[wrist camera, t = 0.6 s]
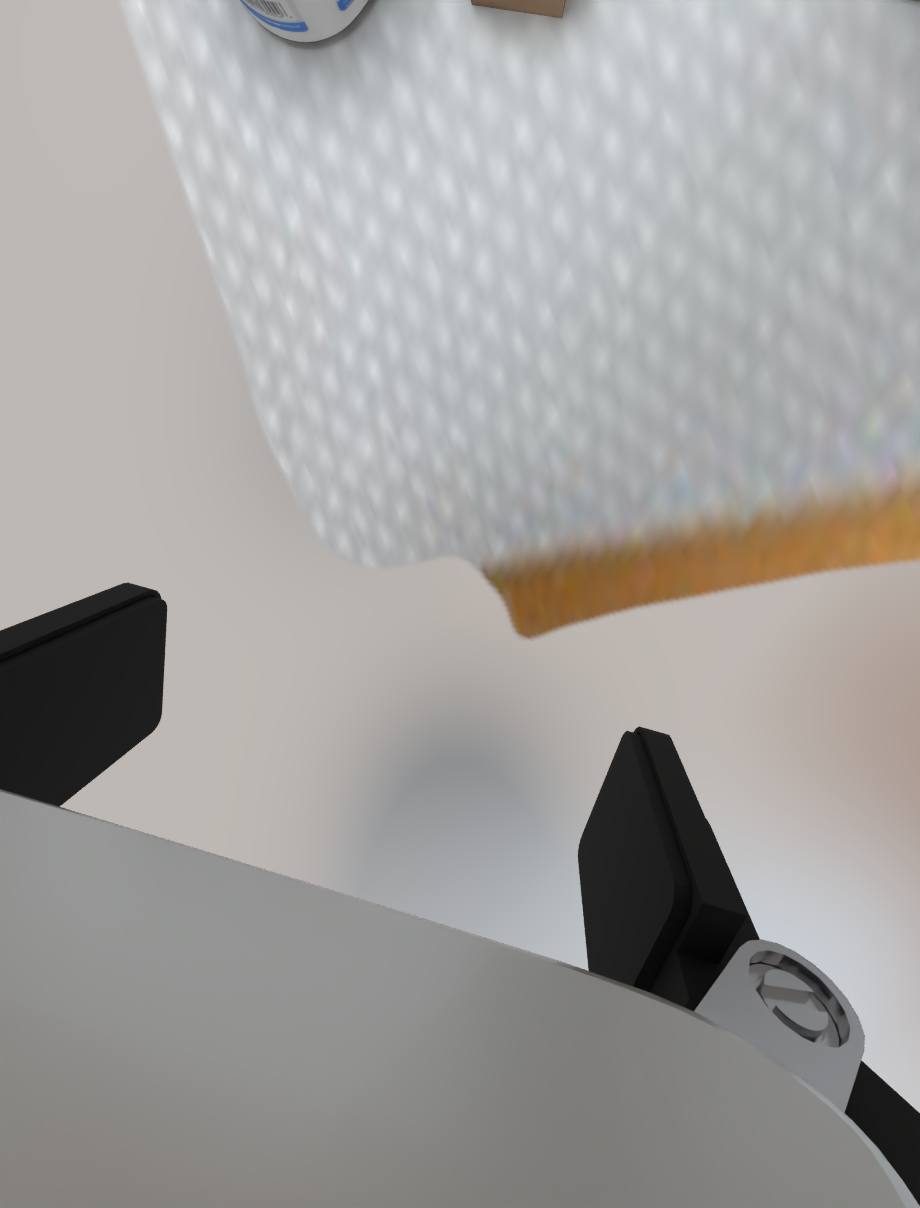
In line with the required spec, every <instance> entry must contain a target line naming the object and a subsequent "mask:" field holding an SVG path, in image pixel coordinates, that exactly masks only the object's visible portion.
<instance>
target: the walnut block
mask: <svg viewBox="0 0 920 1208" xmlns="http://www.w3.org/2000/svg"><path fill="white" fill-rule="evenodd" d="M471 3H472V5H478V6H484V7H491V8H498V9H504V10H511V11H518V12H524V13H531V14H538V15H545V16H551V17H558V18H562V16H563V10H564V5H565V0H471Z"/></svg>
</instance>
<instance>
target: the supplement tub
mask: <svg viewBox="0 0 920 1208" xmlns="http://www.w3.org/2000/svg"><path fill="white" fill-rule="evenodd" d="M240 1H241V2H242V4H243V5H244V6H245V8H246V9H247V10H248V11H249V13H250V14H251V15H252V16H253V17H254V18H255V19H256V20H257V21H258V22H259V23H260V24H261V25H262V26H264V27H265V28H266V29H268V30H269V31H271V32H273V33H274V34H276V35H278V36H281V37H283V38H286V39H288V40H293V41H298V42H314V41H319V40H323V39H326V38H329V37H331V36H333V35H335V34H337V33H338V32H340V31H342V30H343V29H344V28H345V27H346V26H348V25H349V24H350V23H351V22H352V21H353V20H354V19H355V17H356V16H357V15H358V14H359V13H360V11H361V10H362V9H363V7H364V6H365V4H366V3H367V2H368V0H240Z"/></svg>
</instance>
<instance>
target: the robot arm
mask: <svg viewBox="0 0 920 1208" xmlns="http://www.w3.org/2000/svg"><path fill="white" fill-rule="evenodd" d="M166 622H167V605H166V602H165V601H164V600H161V596H160V594H159V593H158V592H157V591H155V590H152V589H149V588H145V587H141V586H138V585H134V584H130V583H123V584H121V585H118V586H115V587H113V588H110V589H108V590H105V591H102V592H100V593H97V594H95V595H92V596H89V597H87V598H84V599H82V600H79V601H76V602H74V603H71V604H69V605H66V606H64V607H61V608H58V609H56V610H53V611H50V612H48V613H45V614H42V615H40V616H38V617H35V618H32V619H30V620H27V621H24V622H22V623H19V624H16V625H14V626H11V627H9V628H6V629H4V630H1V631H0V1208H920V1113H919V1112H918V1111H917V1110H915V1109H914V1108H913V1107H912V1106H911V1105H910V1104H909V1103H908V1102H907V1101H906V1100H904V1099H903V1098H902V1097H901V1096H900V1095H899V1094H898V1093H897V1092H896V1091H894V1090H893V1089H892V1088H891V1087H890V1086H889V1085H888V1084H887V1083H886V1082H885V1081H883V1080H882V1079H881V1078H880V1077H879V1076H878V1075H877V1074H876V1073H875V1072H873V1071H872V1070H871V1069H870V1068H869V1067H868V1066H867V1065H866V1064H865V1063H864V1062H862V1061H861V1059H862V1056H863V1053H864V1040H865V1039H864V1038H865V1035H864V1032H863V1029H862V1026H861V1023H860V1021H859V1018H858V1016H857V1014H856V1013H855V1011H854V1009H853V1008H852V1006H851V1004H850V1003H849V1001H848V999H847V998H846V997H845V995H844V994H843V993H842V992H841V991H840V990H839V988H838V987H837V986H836V985H835V984H834V983H833V981H832V980H831V979H829V978H828V977H827V976H826V975H825V974H824V973H823V972H822V971H821V970H820V969H818V968H817V967H816V966H815V965H814V964H813V963H811V962H810V961H808V960H806V959H805V958H804V957H802V956H801V955H799V954H798V953H796V952H795V951H793V950H791V949H789V948H786V947H784V946H782V945H780V944H778V943H774V942H770V941H765V940H760V939H759V937H758V934H757V932H756V930H755V928H754V925H753V923H752V921H751V918H750V916H749V914H748V911H747V909H746V907H745V905H744V902H743V900H742V897H741V895H740V893H739V891H738V888H737V886H736V884H735V881H734V879H733V877H732V874H731V872H730V870H729V867H728V865H727V863H726V861H725V858H724V856H723V854H722V851H721V849H720V847H719V844H718V842H717V840H716V838H715V835H714V833H713V831H712V828H711V826H710V824H709V822H708V821H707V819H706V818H705V816H704V814H703V811H702V809H701V807H700V805H699V802H698V800H697V797H696V795H695V793H694V790H693V788H692V786H691V783H690V781H689V779H688V776H687V774H686V772H685V770H684V767H683V765H682V763H681V760H680V758H679V755H678V753H677V751H676V748H675V746H674V744H673V741H672V739H671V737H670V736H669V735H667V734H664V733H660V732H656V731H653V730H649V729H646V728H642V727H638V728H636V729H635V731H634V732H629V731H626V732H625V733H624V734H623V736H622V738H621V741H620V743H619V746H618V748H617V750H616V753H615V755H614V758H613V760H612V763H611V765H610V768H609V770H608V773H607V775H606V778H605V780H604V782H603V785H602V788H601V790H600V793H599V795H598V797H597V800H596V802H595V805H594V807H593V810H592V812H591V815H590V817H589V819H588V822H587V824H586V827H585V829H584V832H583V834H582V837H581V840H580V844H579V849H578V863H579V874H580V884H581V895H582V904H583V916H584V926H585V937H586V947H587V958H588V968H589V971H587V970H584V969H581V968H578V967H575V966H572V965H570V964H567V963H564V962H561V961H558V960H555V959H551V958H548V957H545V956H542V955H539V954H536V953H532V952H529V951H526V950H523V949H520V948H516V947H513V946H510V945H507V944H504V943H500V942H497V941H494V940H491V939H487V938H484V937H481V936H478V935H474V934H471V933H468V932H465V931H462V930H459V929H455V928H452V927H449V926H446V925H443V924H439V923H436V922H433V921H430V920H427V919H423V918H420V917H417V916H414V915H410V914H407V913H404V912H401V911H398V910H395V909H391V908H388V907H385V906H381V905H379V904H375V903H372V902H369V901H366V900H362V899H359V898H356V897H352V896H349V895H346V894H343V893H340V892H336V891H333V890H330V889H327V888H324V887H320V886H317V885H313V884H311V883H307V882H304V881H301V880H298V879H294V878H291V877H288V876H285V875H281V874H278V873H275V872H272V871H268V870H265V869H262V868H258V867H255V866H252V865H249V864H246V863H242V862H239V861H235V860H233V859H229V858H226V857H223V856H219V855H216V854H213V853H210V852H206V851H203V850H199V849H196V848H193V847H190V846H186V845H183V844H180V843H177V842H173V841H170V840H167V839H164V838H160V837H157V836H154V835H150V834H147V833H144V832H141V831H137V830H134V829H131V828H127V827H124V826H121V825H118V824H114V823H111V822H107V821H104V820H101V819H98V818H94V817H91V816H88V815H85V814H81V813H78V812H75V811H71V810H68V809H65V808H61V807H60V806H61V805H62V804H63V803H64V802H66V801H67V800H68V799H70V798H71V797H72V796H73V795H75V794H76V793H77V792H78V791H79V790H81V789H82V788H83V787H85V786H86V785H87V784H88V783H90V782H91V781H92V780H93V779H95V778H96V777H97V776H98V775H99V774H101V773H102V772H103V771H105V770H106V769H107V768H108V767H110V766H111V765H112V764H113V763H115V762H116V761H117V760H118V759H119V758H121V757H122V756H123V755H125V754H126V753H127V752H128V751H129V750H131V749H132V748H133V747H134V746H136V745H137V744H138V743H139V742H141V741H142V740H143V739H145V738H146V737H147V736H148V735H150V734H151V733H152V732H153V731H154V730H155V728H156V727H157V726H158V724H159V722H160V719H161V715H162V700H163V698H162V697H163V681H164V661H165V642H166V640H165V639H166Z"/></svg>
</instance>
